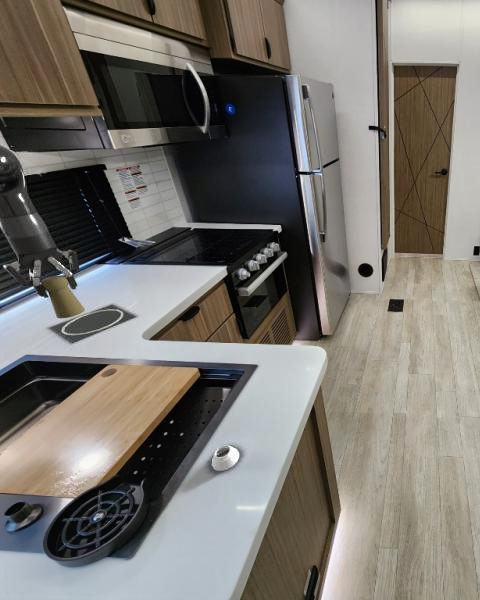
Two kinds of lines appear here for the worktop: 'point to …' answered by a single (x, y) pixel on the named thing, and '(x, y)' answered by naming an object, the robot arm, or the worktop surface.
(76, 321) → the slate board
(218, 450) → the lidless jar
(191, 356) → the worktop surface
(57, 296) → the cork
